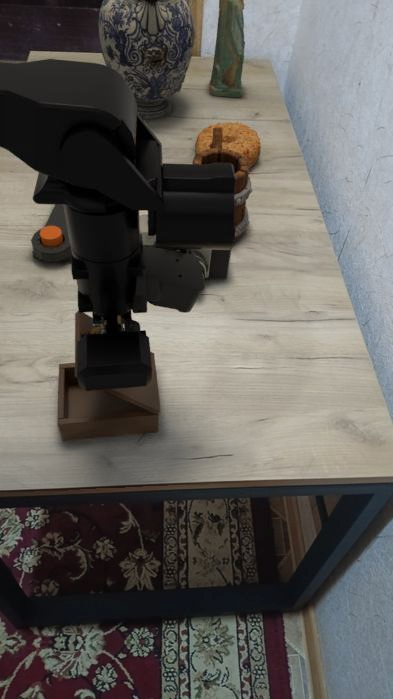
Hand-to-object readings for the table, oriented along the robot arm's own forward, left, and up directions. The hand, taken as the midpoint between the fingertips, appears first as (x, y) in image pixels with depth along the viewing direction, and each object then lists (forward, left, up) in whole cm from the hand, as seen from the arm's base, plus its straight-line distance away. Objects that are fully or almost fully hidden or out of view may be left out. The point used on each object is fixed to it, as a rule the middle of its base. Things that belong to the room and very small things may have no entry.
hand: (116, 352), depth 53 cm
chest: (-2, 0, -11) cm, 11 cm away
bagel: (+23, +55, -11) cm, 61 cm away
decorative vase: (+9, +75, -11) cm, 76 cm away
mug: (+17, +36, -11) cm, 42 cm away
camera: (+10, +22, -11) cm, 27 cm away
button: (-9, +29, -8) cm, 31 cm away
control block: (-7, +36, -11) cm, 38 cm away
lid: (0, 0, -2) cm, 2 cm away
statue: (+28, +82, -11) cm, 88 cm away
